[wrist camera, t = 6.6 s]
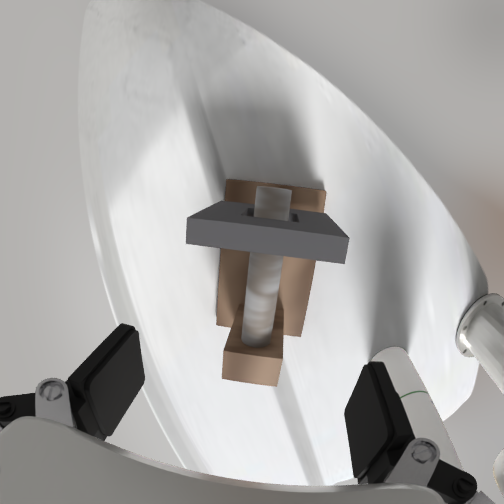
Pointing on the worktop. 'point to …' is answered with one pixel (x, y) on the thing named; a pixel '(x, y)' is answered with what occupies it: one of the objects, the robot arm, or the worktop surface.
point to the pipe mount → (263, 287)
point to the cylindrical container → (417, 402)
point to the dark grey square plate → (268, 232)
